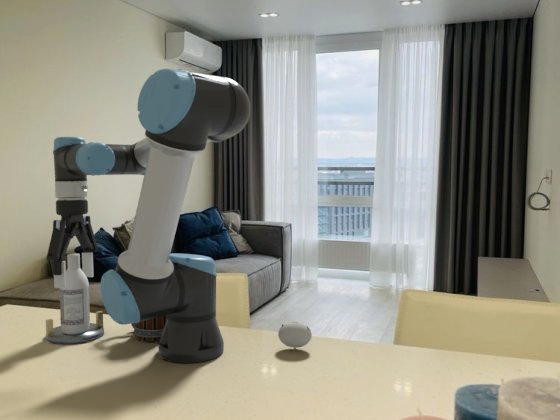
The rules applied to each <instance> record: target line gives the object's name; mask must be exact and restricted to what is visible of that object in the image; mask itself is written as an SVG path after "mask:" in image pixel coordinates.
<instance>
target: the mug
mask: <svg viewBox="0 0 560 420" xmlns="http://www.w3.org/2000/svg"><path fill="white" fill-rule="evenodd" d="M165 322H166V315H165V316H160V317H156V318H152V319H148V320H144V321H140V322H138V323H131V324H130V325H131V327H132V328H133V334H134V337H135V338H136V339H137V340H138V341H141V342H145V343H146V342H147V343H156V342H158V343H159V342H160V338H161V335H162V332H163V329H164V326H165Z"/></svg>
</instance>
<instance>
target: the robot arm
mask: <svg viewBox="0 0 560 420" xmlns="http://www.w3.org/2000/svg"><path fill="white" fill-rule="evenodd" d="M137 99H138V100H137V111H138V115H137V118H138V119H139V120H138V121H139V123H140V125H141V126H142V128H143V129H144V130H145V133H144V137H145V138H143V139H141V140H140V141H137V142H136V143H134V144H133V143H132V144H113V143H103V142H88V143H86V140H85V138H84V137H81V136H58V137H55V138H54V140H53V149H52V154H53V165H54V181H55V182H54V198H56V199H57V200H56V201H55V214H56V215H58V216H61V219H54V220H53V222H52V232H51V238H50V240H49V241H50V242H49V245H48V250H47V254H46V260H47V261H48V262H52V264H53V265H52V266H53V267H52V269H53V285H54V286H53V287H54V289H60V288H66V271H67V267H66V260H64V259H65V256H66V254H67V251H68V248H69V245H70V242H71V240H72V239H74V237H75V238H76V239H77V241H78V244H79V245H80V247H81V249H82V250H83V252H81V264H82V268H81V270H82V271H83V272H84V274H85V275H86V277H87V278H93V277H94V275H95V274H94V253H97V252H98V251H97V248H98V244H97V240H96V237H95V234H94V230H93V227H92V223H91V216H90V215H87V214H88V213H89V202H88V200H87V199H86V198H87V197H88V188H89V186H88V184H87V183H88V178H87V177H88V176H93V177H94V176H113V175H114V176H115V175H118V176H119V175H120V176H121V175H122V176H124V175H128V176H129V175H133V176H134V175H136V176H137V175H140V176H143V178H142V183H141V188H140V192H139V198H138V202H137V208H136V211H135V216H134V219H133V220H134V221H133V225H132V230H131V233H130V238H129V242H128V247H127V250H124V251H123V252H121V253H120V254H119V256H118V258H117V261H116V267H115V269H109V270H107V271H106V272H104V273H103V275H102V276H101V279H100V296H101V299H102V303H103V306H104V308H105V310H106V312H107V314H108V315H109V317H110V318H111V319H112V320H113V322H115V323H117V324H119V325H123V326H124V325H129V324H130V325H131V323H138V322H140V321H144V320H148V319H152V318H156V317H160V316H165V315H166V322H165V326H164V329H163V332H162V335H161V338H160V341H158V355H159V357H160V358H161V359H163V360H165V361H168V362H172V363H180V364H182V363H183V364H189V363H190V364H192V363H201V362H206V361H210V360H213V359H215V358H218V357H220V356H221V355H222V354H223V353H224V351H225V350H224V338H223V335H222V332H221V329H220V325H219V323H218V321H217V275H218V274H217V270H216V262H215V259H213V258H212V257H210V256H206V255H200V254H194V253H193V254H191V253H171V251H172V249H173V245H174V240H175V235H176V232H177V228H178V224H179V220H180V217H181V216H180V215H181V212H182V210H183V205H184V201H185V197H186V193H187V189H188V185H189V181H190V176H191V174H192V170H193V165H194V161H195V158H196V156H197V155H198V154H201V153H203V152H204V151H205V150H206V147H207V144H208V143H209V142H210V143H211V142H213V143H221V142H224V141H225V140H228V139H230V138H232V137H234V136H235V135H238V134H239V133H240V132H241V131H243V130H244V128H246V125H247V124H248V122H249V120H250V116H251V109H252V108H251V102H250V98H249V95H248V93H247V92H246V90H245V88H243V86H242V85H241V84H240V83H238V82H237V81H235V80H233V79H232V78H230V77H226V76H220V75H219V76H218V75H214V74H213V75H212V74H207V73H203V72H202V73H201V72H197V71H191V70H185V69H183V68H178V69H173V68H161V69H159V70H156V71H155V72H154V73H153V74H151V75H149V76H148V78H147V79H146V80H145V82H144V83H143V85H142V87H141V89H140V91H139V95H138V98H137Z"/></svg>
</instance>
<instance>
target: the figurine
mask: <svg viewBox="0 0 560 420" xmlns="http://www.w3.org/2000/svg"><path fill="white" fill-rule="evenodd" d="M312 334H313V333H312V331H311V329H310V327H309V326H308V325H307V324H304V323H303V322H299V321H290V322H286V323H284V324H281V327H280V328H279V329H278V334H277V336H278V339H279V341H280V342H281V343H282V344H283V345H284V346H286V347H290V348H293V350H294V351H296V350H297V348H301V347H305V346H306V345H307V344H308V343H310V342H311V339H312Z"/></svg>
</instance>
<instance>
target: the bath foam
mask: <svg viewBox="0 0 560 420" xmlns="http://www.w3.org/2000/svg"><path fill="white" fill-rule="evenodd" d="M80 256H81V255H80V253H75V252H74V253H67V268H66V288H59V308H60V313H59V314H60V326H61V332H62V333H64V334H69V335H74V334H81V333H84V332H87V331H88V330H89V329H90V323H91V322H90V321H91V319H90V317H91V316H90V314H91V313H90V283H89V279H88V277H86V275H85V274H84V272H83V271H82V268H81V257H80Z"/></svg>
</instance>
